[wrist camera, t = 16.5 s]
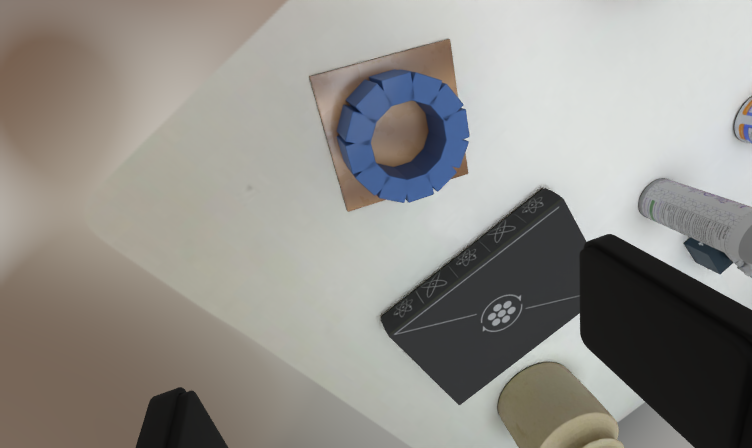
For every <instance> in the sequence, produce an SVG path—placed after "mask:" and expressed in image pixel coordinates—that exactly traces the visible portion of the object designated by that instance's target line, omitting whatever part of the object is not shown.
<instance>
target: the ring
mask: <svg viewBox="0 0 752 448" xmlns="http://www.w3.org/2000/svg"><path fill="white" fill-rule="evenodd" d="M369 80H370V81H368V80H364V81H363V82H362V83H361V84H360V85H359V86H358V87H357V88H356V89H355V90H354V91H353V92H352V93H351V95H350V96H349V97H348V98H347V99H346V101H347V102H348V103H349V104H350V106H348V105H343V107H342V111H341V115H340V119H339V123H338V128H337V132H338V133H339V136H337V140H338V143H339V147H340V150H341V154H342V157H343V161H344V162H345V164H346V166H347V167H348V169H349V170H350V171H351V173H352V174H353V175H354V177H355V178H356V179H357V180H358V181H359V182H360V183H361V184H362V185H363V186H364V187H365V188H366V189H368V190H369V191H370V192H371V193H372V194H373V195H374V196H375V195H377V196H378V197H379V198H381V199H386V200H391V201H397V202H402V203H404V202H405V199H406V200H407V201H408V202H412V201H415V200H418V199H421V198H424V197H427V196H430V195H433V194H434V192H433V188H434V189H435V190H436V191H439V190H440V189H441V188H442V187H443V186H444V185H445V184H446V183H447V182H448V181H449V180H450V179H451V178H452V177H453V176H454V175H455V174H456V173H457V171H456V170H455V169H454V168H453V167H456V168H460V166H461V163H462V160H463V157H464V154H465V152H466V149H467V146H468V143H469V142H468V141H466V140H464V139H465V138H468V137H469V129H468V122H467V115H466V109H463V108H461V107H462V106H463V103H462V102H461V101H460V100H459V98H458V97H457V96H456V95H455V93H454V92H453V91H452V90H451V88H450V87H449V86H448V85H447V84H446V83H442V80H439V79H436V78H433V77H430V76H426V75H423V74H420V73H417V72H412V71H406V70H401V69H400V70H396V69H394V70H390V71H387V72H383V73H380V74H376V75H373V76H370V77H369ZM411 100H412V101H415V102H416V103H417V104H418V105H419V106H420V107H421V109H422V110H423V111H424V112H425V113H426V119H427V124H428V129H429V132H428V136H427V139H426V142H425V145H424V148H423V150H422V151H421V152H420V153H419V154H418V155H417V156H416V157H415V158H414V159H413V160H412V161H411V162H408V163H405V164H402V165H399V166H396V167H391V166H387V165H382V164H378V163H376V161H375V157H374V153H373V149H372V145H371V140H372V136H373V133H374V129H375V125H376V122H377V121H378V120H379V119H380V118H381V117H382V116H383V115H384V114H385V113H386V112H387V111H388V110H389V108H390V107H391V106H394V105H398V104H401V103H404V102H408V101H411Z"/></svg>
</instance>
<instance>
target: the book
mask: <svg viewBox="0 0 752 448" xmlns="http://www.w3.org/2000/svg"><path fill="white" fill-rule="evenodd" d="M585 243H586V240H585V238H584V236H583V235H582V233H581V231H580V229H579V227H578V225H577V223H576V221H575V220H574V218H573V216H572V214H571V212H570V210H569V208H568V207H567V205H566V203H565V201H564V199H563V198H562V197H560V196H559V195H558V194H556V193H554V192H553V191H551V190H548V189H542V190H540V191H539V192H538V193H537V194H535V195H534V196H533V197H532V198H530V199H529V200H528V201H527V202H525V203H524V204H523V205H521V206H520V207H519V208H518V209H516V210H515V211H514V212H513V213H511V214H510V215H509V216H508V217H506V218H505V219H504V220H503V221H501V222H500V223H499V224H498V225H496V226H495V227H494V228H492V229H491V230H490V231H489V232H487V233H486V234H485V235H484V236H482V237H481V238H480V239H479V240H477V241H476V242H475V243H474V244H472V245H471V246H470V247H469V248H467V249H466V250H465V251H463V252H462V253H461V254H460V255H458V256H457V257H456V258H455V259H453V260H452V261H451V262H450V263H448V264H447V265H446V266H445V267H443V268H442V269H441V270H440V271H438V272H437V273H436V274H434V275H433V276H432V277H431V278H429V279H428V280H427V281H426V282H424V283H423V284H422V285H421V286H419V287H418V288H417V289H416V290H414V291H413V292H412V293H411V294H409V295H408V296H407V297H405V298H404V299H403V300H402V301H400V302H399V303H398V304H397V305H395V306H394V307H393V308H392V309H390V310H389V311H388V312H387V313H385V314H384V315H383V316H382V317H381V321H382V324H383V326H384V328H385V330H386V332H387V334H388V335H389V337H390V338H391V339H392V340H393V341H394V342H395V343H396V344H397V345H398V346H399V347H400V348H401V349H403V350H404V351H405V352H406V353H407V354H408V355H409V356H410V357H411V358H412V359H413V360H414V361H415V362H416V363H417V364H418V365H419V366H420V367H421V368H422V369H423V370H424V371H425V372H426V373H427V374H428V375H429V376H430V377H431V378H432V379H433V380H434V381H435V382H436V383H437V384H438V385H439V386H440V387H441V388H442V389H443V390H444V391H445V392H446V393H447V394H448V395H449V396H450V397H451V398H452V399H453V400H454V401H455V402H456V403H457V404H458V405H461V404H462V403H463V402H465V401H466V400H467V399H468V398H470V397H471V396H472V395H474V394H475V393H476V392H478V391H479V390H480V389H481V388H483V387H484V386H485V385H487V384H488V383H489V382H491V381H492V380H493V379H494V378H496V377H497V376H498V375H500V374H501V373H502V372H504V371H505V370H506V369H507V368H509V367H510V366H511V365H513V364H514V363H515V362H517V361H518V360H519V359H521V358H522V357H523V356H524V355H526V354H527V353H528V352H530V351H531V350H532V349H534V348H535V347H536V346H537V345H539V344H540V343H541V342H543V341H544V340H545V339H547V338H548V337H549V336H550V335H552V334H553V333H554V332H556V331H557V330H558V329H560V328H561V327H562V326H563V325H565V324H566V323H567V322H569V321H570V320H571V319H573V318H574V317H575V316H576V315H578V314H579V313H580V262H579V255H580V252H581V250H583V248H584V245H585Z"/></svg>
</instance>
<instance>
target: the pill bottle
mask: <svg viewBox="0 0 752 448" xmlns="http://www.w3.org/2000/svg"><path fill="white" fill-rule="evenodd" d="M735 133H736V136H737V137H738V138H739V139H740V140H741V141H744V142H747V143H752V97H751V98H750V99H749V100H748V101H747V102H746V103H745V104H744V105H743V107H742V108H741V110H740V111H739V113H738V115H737V118H736V121H735Z"/></svg>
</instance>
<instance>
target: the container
mask: <svg viewBox="0 0 752 448" xmlns="http://www.w3.org/2000/svg"><path fill="white" fill-rule="evenodd" d="M639 211H640V213H641V214H642V215H643V216H645V217H647V218H649V219H651V220H653V221H656V222H658V223H660V224H662V225H664V226H667V227H669V228H671V229H673V230H676V231H678V232H680V233H682V234H684V235H687V236H689V237H691V238H693V239H695V240H698V241H700V242H702V243H704V244H706V245H709V246H711V247H713V248H715V249H718V250H720V251H722V252H724V253H726V254H729V255H731V256H733V257H735V258H738V259H740V260H743V261H745V262H747V263H750V264H752V207H750V206H747V205H744V204H741V203H738V202H735V201H732V200H729V199H726V198H723V197H720V196H717V195H714V194H711V193H708V192H705V191H702V190H699V189H696V188H693V187H690V186H687V185H684V184H681V183H678V182H675V181H671V180H668V179H658V180H655V181H653V182H652V183H650V184H649V185H648V186H647V187H646V188H645V190H644V191H643V193H642V194H641V197H640V199H639Z"/></svg>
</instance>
